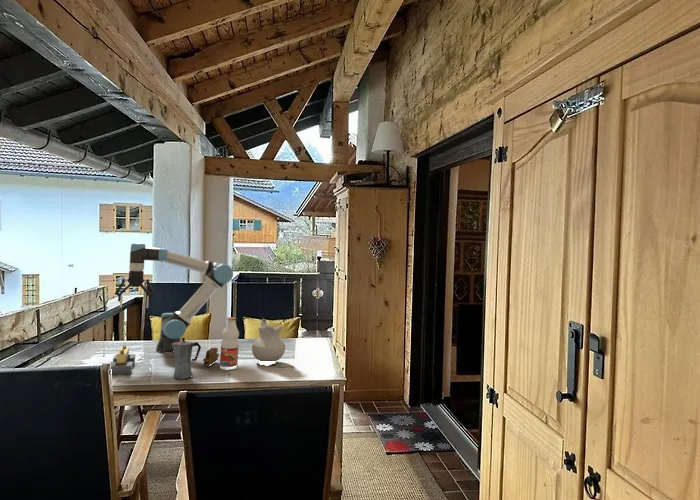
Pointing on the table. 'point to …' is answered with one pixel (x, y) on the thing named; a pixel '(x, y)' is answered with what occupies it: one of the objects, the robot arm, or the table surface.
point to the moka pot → (184, 358)
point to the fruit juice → (229, 344)
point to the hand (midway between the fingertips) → (134, 307)
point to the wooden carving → (211, 356)
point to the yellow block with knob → (123, 356)
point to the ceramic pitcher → (268, 343)
